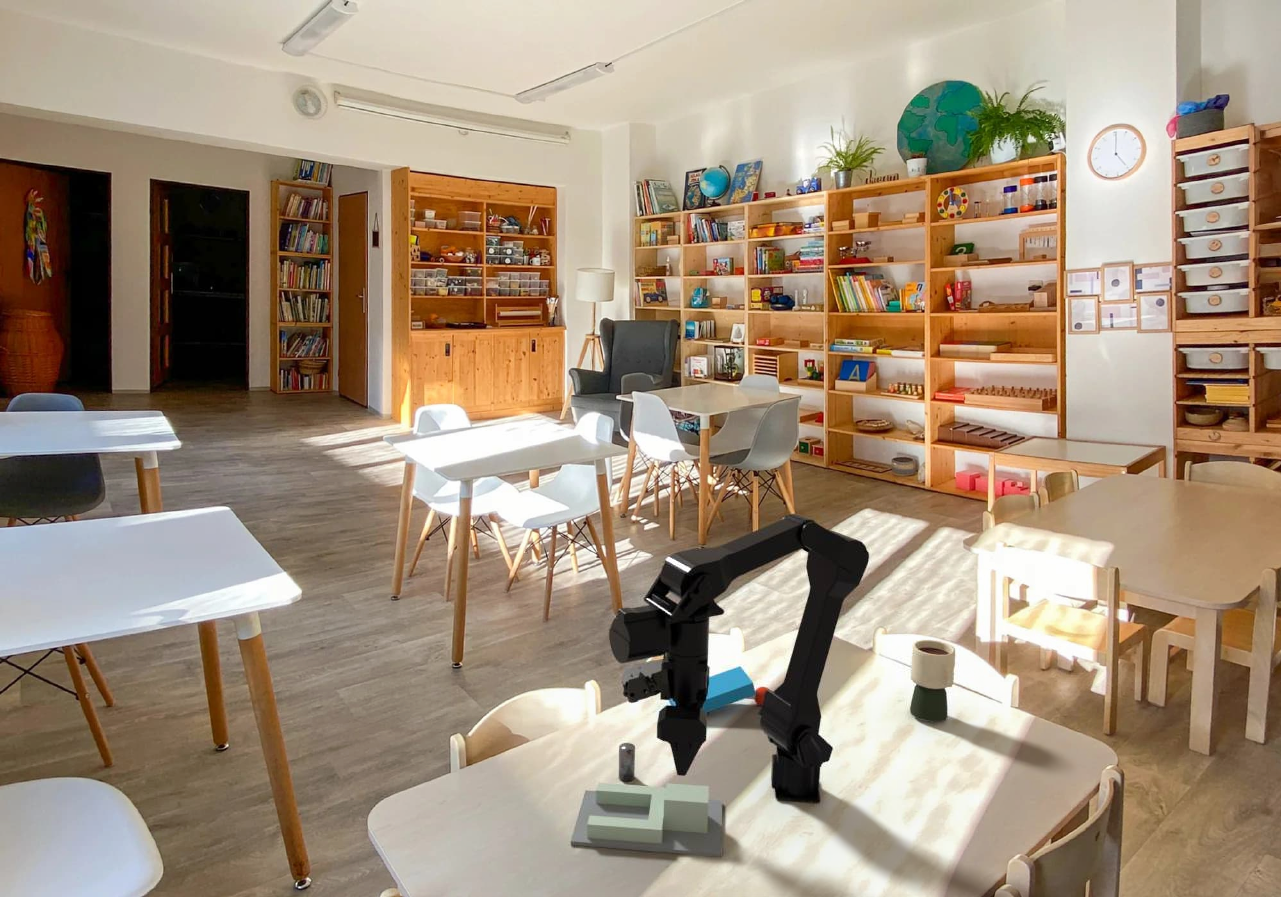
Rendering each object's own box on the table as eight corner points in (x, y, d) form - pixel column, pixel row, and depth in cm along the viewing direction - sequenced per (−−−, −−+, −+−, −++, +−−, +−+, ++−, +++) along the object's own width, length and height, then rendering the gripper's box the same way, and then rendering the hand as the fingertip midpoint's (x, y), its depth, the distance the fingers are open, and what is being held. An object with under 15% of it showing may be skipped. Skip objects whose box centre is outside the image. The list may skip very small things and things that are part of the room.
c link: (708, 803, 123) (709, 774, 122) (706, 847, 113) (707, 816, 112) (597, 795, 124) (598, 766, 124) (587, 837, 115) (587, 807, 114)
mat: (722, 803, 124) (722, 800, 124) (721, 856, 112) (721, 853, 112) (585, 793, 126) (585, 790, 126) (570, 844, 114) (570, 841, 114)
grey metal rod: (635, 773, 131) (635, 743, 130) (633, 782, 129) (634, 751, 128) (619, 772, 131) (620, 742, 130) (617, 781, 129) (618, 750, 128)
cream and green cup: (965, 729, 147) (972, 658, 144) (929, 734, 145) (935, 662, 142) (927, 700, 157) (932, 633, 155) (893, 705, 155) (898, 637, 153)
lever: (685, 745, 149) (780, 710, 152) (676, 710, 147) (772, 675, 150) (675, 725, 156) (767, 692, 158) (666, 692, 154) (758, 659, 157)
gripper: (634, 619, 124) (631, 719, 126) (617, 675, 105) (615, 790, 108) (711, 623, 123) (707, 724, 125) (708, 680, 104) (704, 797, 107)
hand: (683, 756), depth 117 cm, fingers open, 9 cm apart
